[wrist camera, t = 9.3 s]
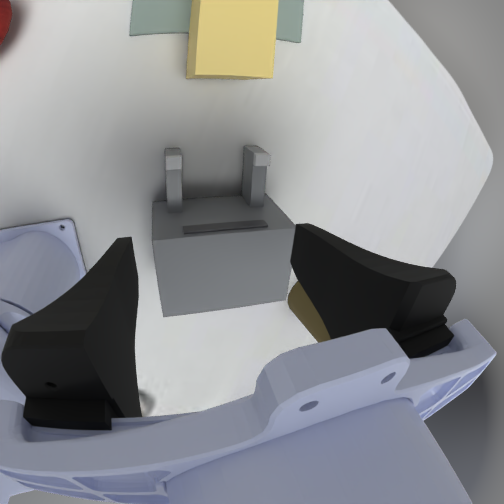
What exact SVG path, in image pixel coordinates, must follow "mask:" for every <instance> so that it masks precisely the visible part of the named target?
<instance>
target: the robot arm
mask: <svg viewBox="0 0 504 504" xmlns="http://www.w3.org/2000/svg"><path fill="white" fill-rule="evenodd" d="M60 225H64V226H65V228H64V229H63V228H61V226H60ZM290 263H291V265H292V268H293V270H294V273H295V275H296V277H297V279H298V281H299V283H300V284H301V286H302V288H303V289H304V291H305V292H306V294H307V296H308V297H309V299H310V300H311V302H312V304H313V305H314V307H315V308H316V310H317V312H318V313H319V315H320V317H321V319H322V321H323V323H324V325H325V327H326V329H327V331H328V334H329V336H330V338H331V340H328V341H324V342H320V343H316V344H311V345H307V346H302V347H298V348H296V349H293V350H290V351H288V352H285V353H282V354H280V355H279V356H277V357H276V358H275V359H273V360H272V361H270V362H269V363H268V364H266V365H265V367H264V368H263V370H262V372H261V373H260V375H259V377H258V378H257V381H256V388H255V392H254V394H251V395H249V396H246V397H243V398H240V399H237V400H234V401H232V402H229V403H226V404H223V405H220V406H216V407H213V408H210V409H207V410H204V411H200V412H192V413H184V414H174V415H164V416H152V417H142V414H141V408H140V401H139V393H138V385H137V375H136V363H135V330H136V318H137V308H138V298H139V292H138V273H137V267H136V262H135V256H134V250H133V244H132V237H124V238H117V239H116V240H115V242H114V243H113V244H112V245H111V246H110V248H109V249H108V250H107V251H106V252H105V254H104V255H103V256H102V257H101V258H100V260H99V261H98V262H97V263H96V264H95V265H94V266H93V267H92V268H91V269H90V270H89V272H88V273H86V270H85V266H84V263H83V259H82V255H81V251H80V247H79V243H78V239H77V234H76V230H75V225H74V222H73V221H72V220H70V219H65V220H58V221H52V222H45V223H38V224H32V225H26V226H20V227H14V228H8V229H3V230H0V504H8V502H9V498H10V497H11V496H13V495H16V494H19V493H23V492H28V491H32V490H39V491H44V492H49V493H54V494H59V495H64V496H69V497H75V498H81V499H88V500H95V501H103V502H113V503H125V504H473V503H472V501H471V500H470V498H469V496H468V494H467V493H466V491H465V489H464V487H463V485H462V484H461V482H460V480H459V478H458V477H457V475H456V473H455V472H454V470H453V468H452V467H451V465H450V463H449V462H448V460H447V458H446V457H445V455H444V453H443V452H442V450H441V448H440V447H439V445H438V443H437V442H436V440H435V439H434V437H433V435H432V434H431V432H430V431H429V429H428V428H427V426H426V424H425V423H424V421H423V420H425V419H426V418H428V417H429V416H431V415H432V414H433V413H435V412H436V411H438V410H439V409H440V408H442V407H443V406H445V405H446V404H447V403H449V402H450V401H451V400H453V399H454V398H455V397H457V396H458V395H459V394H461V393H462V392H463V391H465V390H466V389H467V388H469V387H470V385H471V384H472V383H473V382H474V381H475V380H476V379H477V377H478V376H479V375H480V374H481V373H482V372H483V370H484V369H485V368H486V367H487V366H488V364H489V363H490V362H491V360H492V359H493V358H494V357H495V355H496V351H495V350H494V349H493V348H492V347H491V345H490V344H489V343H488V342H487V341H486V340H485V338H484V337H483V336H482V335H481V334H480V333H479V332H478V331H477V329H476V328H475V327H474V326H473V325H472V324H471V323H470V322H469V321H468V320H467V319H463V320H461V321H459V322H457V323H455V324H453V325H452V326H451V327H450V328H449V329H448V328H447V326H446V325H445V323H446V322H447V319H446V317H444V315H443V314H444V312H445V310H446V309H447V307H448V305H449V303H450V301H451V299H452V297H453V295H454V293H455V289H456V280H455V278H454V277H453V276H452V275H451V274H450V273H449V272H447V271H446V270H444V269H436V268H429V267H422V266H417V265H412V264H408V263H404V262H400V261H396V260H393V259H389V258H386V257H383V256H380V255H378V254H375V253H372V252H370V251H367V250H365V249H363V248H360V247H358V246H356V245H354V244H352V243H349V242H347V241H345V240H343V239H341V238H339V237H337V236H335V235H333V234H331V233H329V232H327V231H325V230H323V229H321V228H319V227H317V226H314V225H312V224H309V223H305V224H296V227H295V234H294V240H293V246H292V253H291V259H290Z"/></svg>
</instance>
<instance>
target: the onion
mask: <svg viewBox="0 0 504 504" xmlns="http://www.w3.org/2000/svg"><path fill="white" fill-rule="evenodd" d="M11 18H12V10H11V3H10V1H9V0H0V45H1V44H2V42H3V40H4V38H5V36H6V34H7V32H8V29H9V26H10V22H11Z"/></svg>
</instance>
